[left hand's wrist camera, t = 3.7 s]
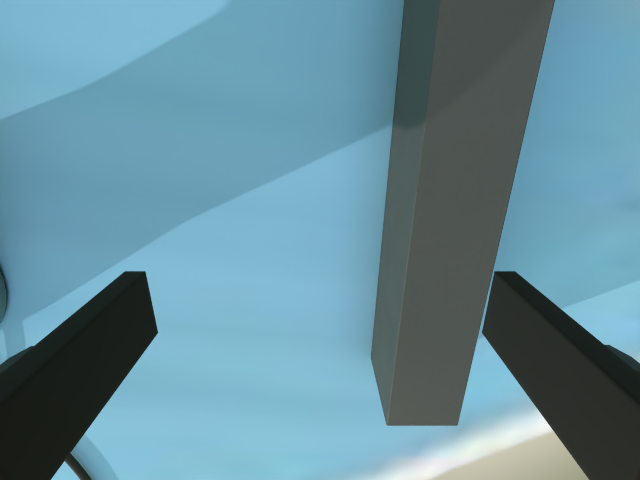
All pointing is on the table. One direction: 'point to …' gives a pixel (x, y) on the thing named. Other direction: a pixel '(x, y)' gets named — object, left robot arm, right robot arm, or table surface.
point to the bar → (449, 193)
